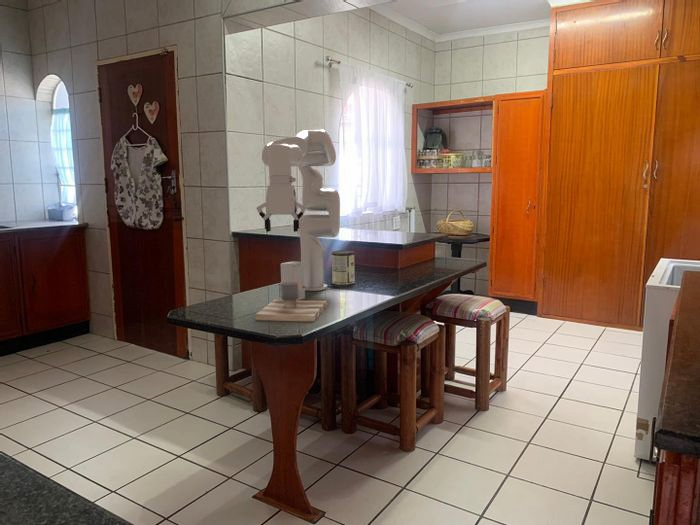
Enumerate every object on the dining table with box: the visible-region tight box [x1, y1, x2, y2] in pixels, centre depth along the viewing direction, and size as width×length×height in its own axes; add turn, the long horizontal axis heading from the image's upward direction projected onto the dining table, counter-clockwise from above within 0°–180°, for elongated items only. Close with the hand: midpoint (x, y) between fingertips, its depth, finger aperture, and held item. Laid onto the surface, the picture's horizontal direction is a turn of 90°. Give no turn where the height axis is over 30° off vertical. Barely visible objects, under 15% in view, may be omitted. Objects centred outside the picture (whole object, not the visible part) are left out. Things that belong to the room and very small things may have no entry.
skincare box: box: [280, 261, 306, 300], centre depth 211 cm, size 8×6×15 cm
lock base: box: [255, 299, 328, 323], centre depth 191 cm, size 22×20×5 cm
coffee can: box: [331, 249, 356, 286], centre depth 244 cm, size 10×10×14 cm
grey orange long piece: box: [280, 282, 300, 300], centre depth 194 cm, size 14×6×5 cm, turn 172°
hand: (282, 231), depth 187 cm, fingers open, 9 cm apart
